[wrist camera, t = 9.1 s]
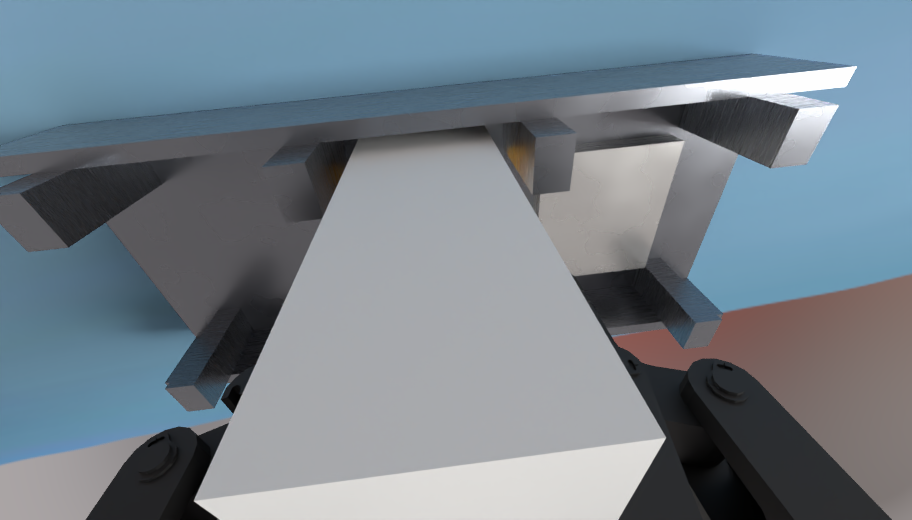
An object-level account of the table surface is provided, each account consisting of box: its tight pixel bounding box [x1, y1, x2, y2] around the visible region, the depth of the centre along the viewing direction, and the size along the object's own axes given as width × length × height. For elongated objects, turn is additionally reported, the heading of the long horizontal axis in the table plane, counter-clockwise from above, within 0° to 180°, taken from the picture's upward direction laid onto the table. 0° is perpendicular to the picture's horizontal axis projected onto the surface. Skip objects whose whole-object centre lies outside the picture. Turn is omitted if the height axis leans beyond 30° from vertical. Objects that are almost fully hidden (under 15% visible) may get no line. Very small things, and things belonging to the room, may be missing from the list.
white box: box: [194, 125, 666, 520], centre depth 9 cm, size 4×8×10 cm, turn 5°
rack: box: [0, 54, 857, 411], centre depth 13 cm, size 24×11×5 cm, turn 95°
